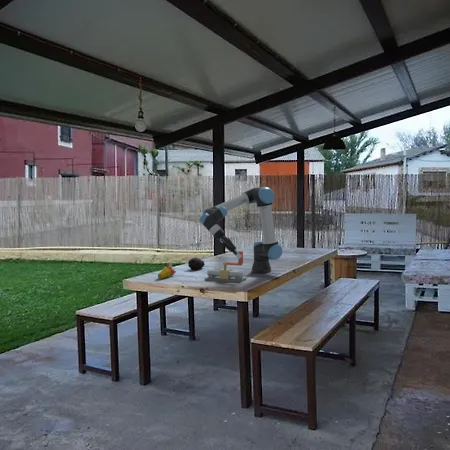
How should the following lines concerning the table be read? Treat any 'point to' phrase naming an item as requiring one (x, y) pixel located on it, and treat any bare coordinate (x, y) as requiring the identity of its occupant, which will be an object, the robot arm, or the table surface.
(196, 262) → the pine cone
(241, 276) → the valve base
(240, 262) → the lever
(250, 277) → the table surface
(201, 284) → the table surface
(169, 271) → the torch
